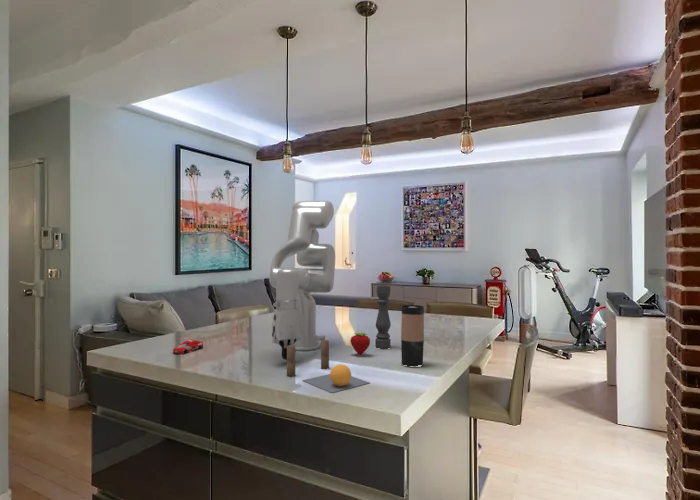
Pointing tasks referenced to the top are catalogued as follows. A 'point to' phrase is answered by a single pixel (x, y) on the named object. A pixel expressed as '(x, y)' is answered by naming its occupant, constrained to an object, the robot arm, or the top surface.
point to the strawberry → (360, 342)
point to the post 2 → (324, 354)
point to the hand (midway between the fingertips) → (286, 358)
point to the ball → (340, 375)
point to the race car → (188, 347)
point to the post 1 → (291, 360)
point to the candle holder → (383, 318)
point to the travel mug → (412, 335)
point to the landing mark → (328, 385)
